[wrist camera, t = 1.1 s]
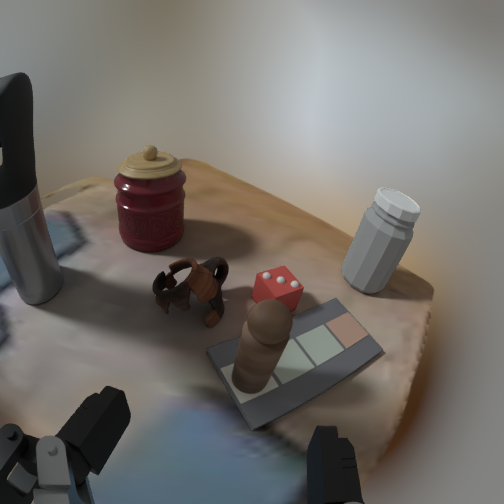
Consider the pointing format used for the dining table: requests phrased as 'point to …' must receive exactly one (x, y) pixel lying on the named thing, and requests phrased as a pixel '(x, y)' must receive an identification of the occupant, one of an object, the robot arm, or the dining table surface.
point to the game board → (301, 362)
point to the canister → (150, 200)
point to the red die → (278, 287)
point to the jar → (380, 241)
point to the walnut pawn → (261, 345)
